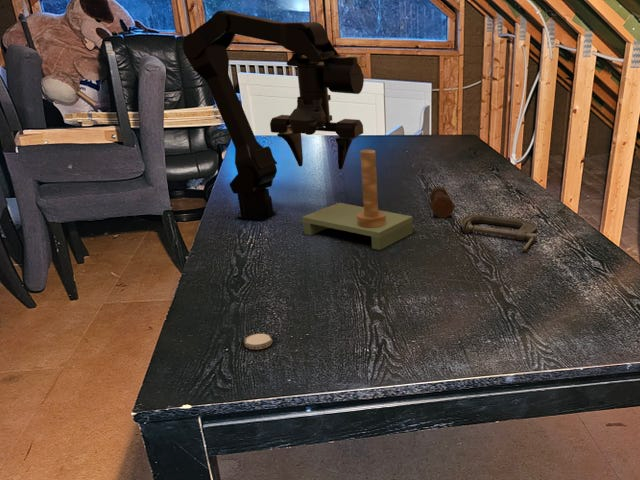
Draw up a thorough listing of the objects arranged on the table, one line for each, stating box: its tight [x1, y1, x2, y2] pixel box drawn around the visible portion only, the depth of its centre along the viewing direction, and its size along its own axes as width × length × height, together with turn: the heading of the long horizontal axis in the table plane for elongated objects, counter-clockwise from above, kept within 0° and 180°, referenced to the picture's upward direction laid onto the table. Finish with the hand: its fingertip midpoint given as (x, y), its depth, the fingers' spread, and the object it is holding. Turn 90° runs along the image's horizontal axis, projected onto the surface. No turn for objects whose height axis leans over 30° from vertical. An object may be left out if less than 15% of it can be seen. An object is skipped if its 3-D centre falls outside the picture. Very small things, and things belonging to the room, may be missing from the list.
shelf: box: [301, 202, 414, 251], centre depth 143 cm, size 20×13×4 cm, turn 63°
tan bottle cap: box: [243, 333, 273, 350], centre depth 99 cm, size 4×4×1 cm
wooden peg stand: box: [357, 149, 386, 228], centre depth 135 cm, size 6×6×15 cm
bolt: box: [428, 186, 456, 219], centre depth 161 cm, size 6×5×15 cm
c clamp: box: [459, 214, 538, 252], centre depth 146 cm, size 20×17×3 cm
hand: (320, 167), depth 142 cm, fingers open, 9 cm apart
